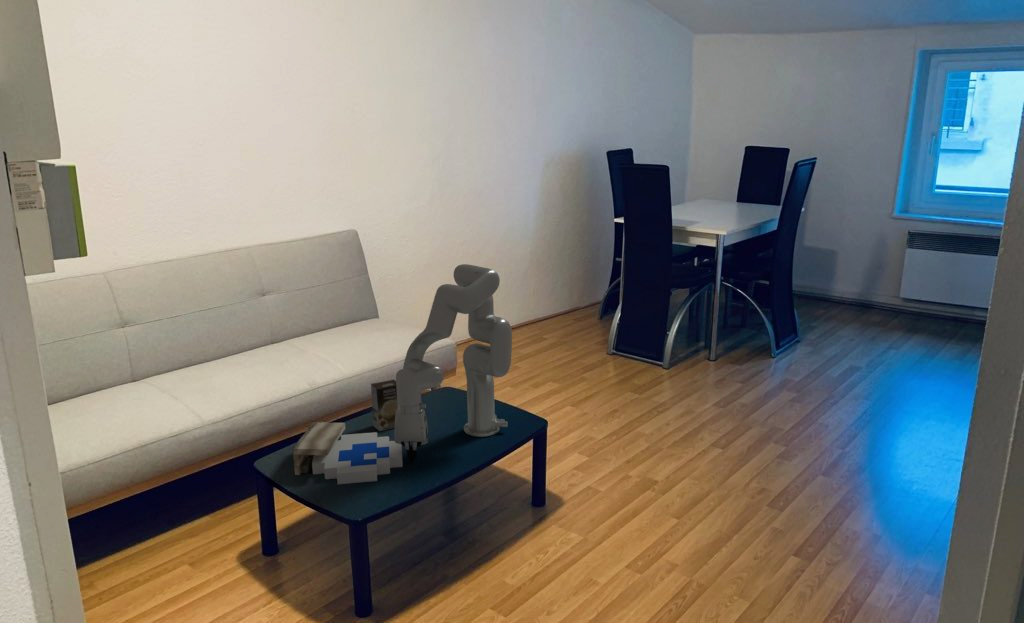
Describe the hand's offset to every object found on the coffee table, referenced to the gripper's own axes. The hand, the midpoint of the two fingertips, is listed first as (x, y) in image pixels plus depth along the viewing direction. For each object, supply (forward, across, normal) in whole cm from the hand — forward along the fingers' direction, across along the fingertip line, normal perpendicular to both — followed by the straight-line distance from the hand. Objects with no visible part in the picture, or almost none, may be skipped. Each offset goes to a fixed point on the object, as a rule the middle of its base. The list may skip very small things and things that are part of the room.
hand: (412, 459), depth 254 cm
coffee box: (+1, +15, -28) cm, 31 cm away
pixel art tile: (+2, +18, +1) cm, 18 cm away
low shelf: (+1, +30, 0) cm, 30 cm away
